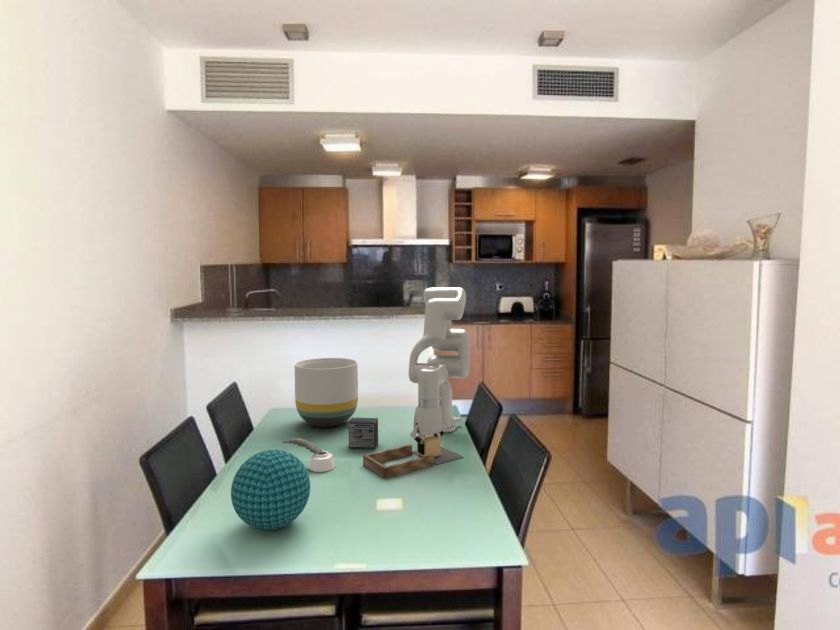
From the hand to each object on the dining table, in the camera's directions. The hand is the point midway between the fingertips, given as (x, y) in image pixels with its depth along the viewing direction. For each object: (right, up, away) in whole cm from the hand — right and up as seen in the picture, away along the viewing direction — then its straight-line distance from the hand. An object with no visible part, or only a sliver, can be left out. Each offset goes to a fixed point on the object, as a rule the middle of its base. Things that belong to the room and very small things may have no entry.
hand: (428, 451), depth 188 cm
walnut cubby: (-10, -3, -7) cm, 12 cm away
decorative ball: (-42, -7, -49) cm, 65 cm away
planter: (-44, +1, +40) cm, 59 cm away
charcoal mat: (+3, -2, +2) cm, 4 cm away
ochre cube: (0, -1, 0) cm, 1 cm away
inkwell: (-41, -3, -9) cm, 42 cm away
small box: (-25, -1, +12) cm, 27 cm away
